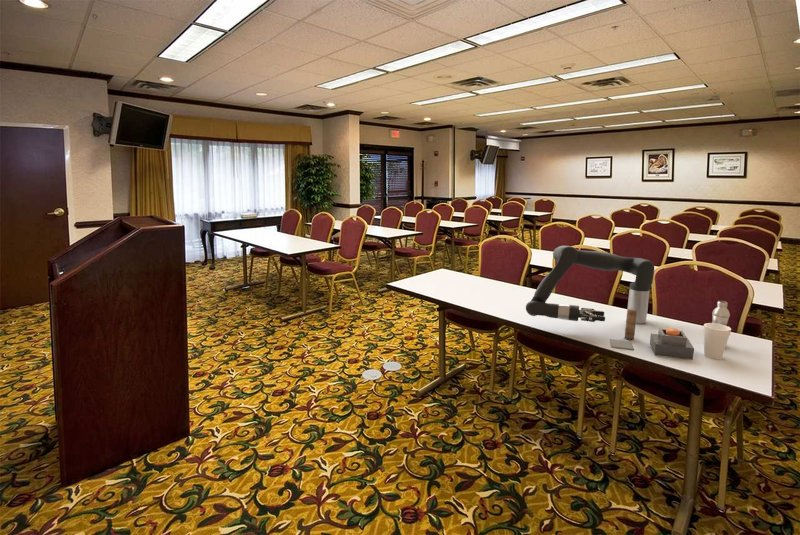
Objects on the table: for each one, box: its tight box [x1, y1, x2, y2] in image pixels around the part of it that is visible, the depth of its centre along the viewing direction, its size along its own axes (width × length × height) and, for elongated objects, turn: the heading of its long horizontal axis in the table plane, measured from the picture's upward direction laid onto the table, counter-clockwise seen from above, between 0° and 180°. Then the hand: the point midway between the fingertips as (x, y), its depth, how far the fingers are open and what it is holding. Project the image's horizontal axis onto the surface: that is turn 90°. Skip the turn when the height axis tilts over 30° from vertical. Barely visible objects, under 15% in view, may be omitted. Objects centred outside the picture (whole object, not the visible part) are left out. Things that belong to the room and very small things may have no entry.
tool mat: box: [609, 338, 635, 351], centre depth 201 cm, size 10×9×1 cm
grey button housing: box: [649, 328, 695, 361], centre depth 193 cm, size 14×14×8 cm
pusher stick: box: [624, 308, 637, 341], centre depth 208 cm, size 4×4×14 cm
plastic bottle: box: [711, 300, 731, 326], centre depth 200 cm, size 6×7×20 cm
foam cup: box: [702, 322, 732, 360], centre depth 187 cm, size 10×9×13 cm
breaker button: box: [665, 327, 681, 336], centre depth 192 cm, size 5×5×2 cm
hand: (604, 316), depth 211 cm, fingers open, 8 cm apart
